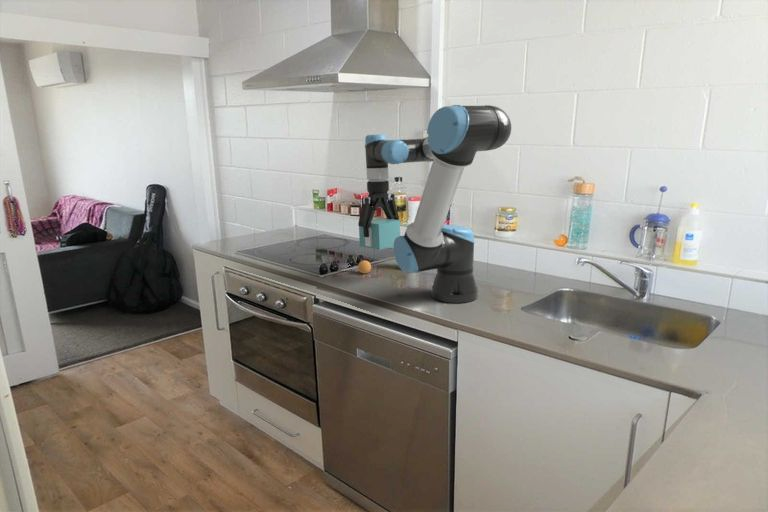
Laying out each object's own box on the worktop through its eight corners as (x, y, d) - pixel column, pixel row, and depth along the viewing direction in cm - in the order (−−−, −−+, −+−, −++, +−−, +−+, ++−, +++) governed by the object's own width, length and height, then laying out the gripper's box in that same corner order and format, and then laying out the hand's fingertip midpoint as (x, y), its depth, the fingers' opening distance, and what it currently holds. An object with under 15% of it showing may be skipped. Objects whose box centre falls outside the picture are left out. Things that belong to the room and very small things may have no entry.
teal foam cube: (400, 244, 184) (399, 220, 182) (379, 249, 177) (378, 224, 175) (380, 241, 191) (379, 217, 189) (359, 246, 184) (358, 221, 182)
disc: (366, 267, 206) (366, 266, 206) (342, 273, 198) (342, 272, 198) (347, 261, 214) (347, 261, 214) (323, 267, 207) (323, 266, 207)
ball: (373, 273, 197) (373, 260, 196) (363, 275, 194) (363, 263, 193) (365, 270, 201) (365, 258, 200) (355, 273, 198) (355, 260, 196)
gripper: (393, 177, 189) (395, 237, 194) (345, 182, 174) (348, 247, 179) (408, 178, 184) (409, 239, 189) (360, 183, 169) (363, 250, 174)
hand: (380, 243), depth 184 cm, fingers closed on teal foam cube, 10 cm apart
